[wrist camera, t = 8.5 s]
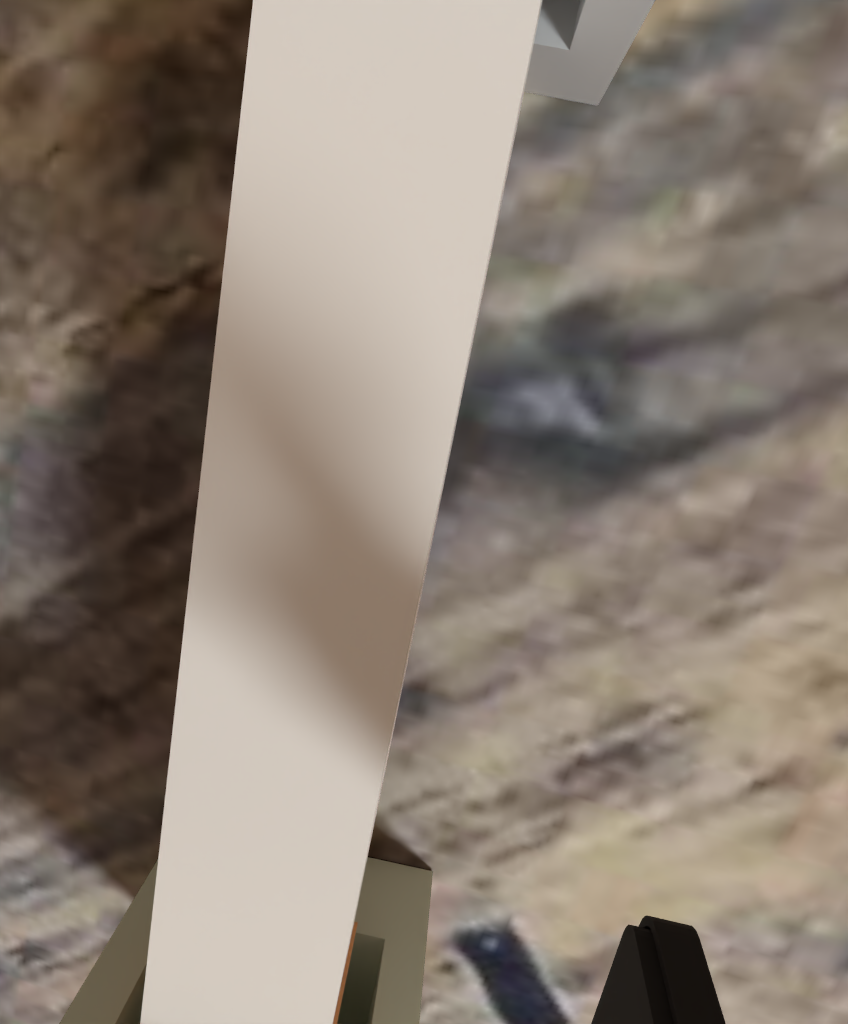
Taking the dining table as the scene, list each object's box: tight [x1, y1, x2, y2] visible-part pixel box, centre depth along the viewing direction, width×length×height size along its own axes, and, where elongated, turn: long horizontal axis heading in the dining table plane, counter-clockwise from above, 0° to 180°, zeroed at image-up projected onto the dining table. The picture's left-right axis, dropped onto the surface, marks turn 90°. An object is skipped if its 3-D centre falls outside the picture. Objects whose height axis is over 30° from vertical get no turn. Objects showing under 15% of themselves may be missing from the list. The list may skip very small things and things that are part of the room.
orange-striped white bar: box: [140, 0, 543, 1024], centre depth 13 cm, size 24×4×4 cm, turn 169°
